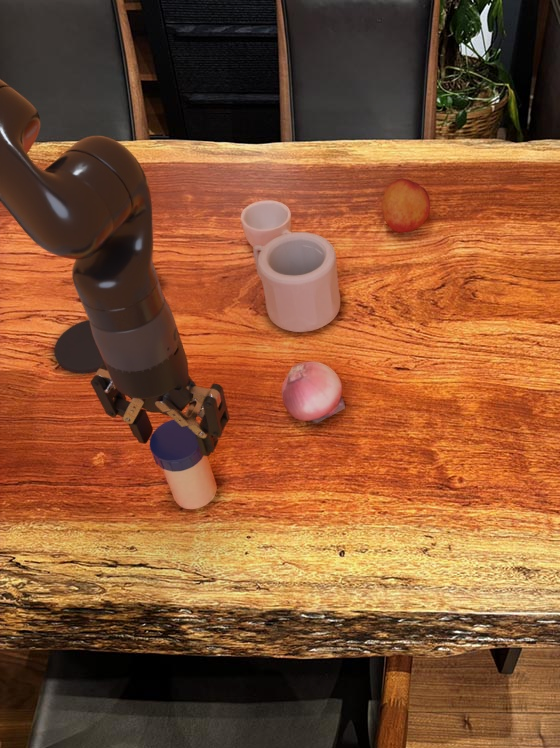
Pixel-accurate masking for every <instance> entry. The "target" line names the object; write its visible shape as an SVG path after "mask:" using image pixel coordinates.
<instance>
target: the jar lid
mask: <svg viewBox="0 0 560 748" xmlns="http://www.w3.org/2000/svg"><path fill="white" fill-rule="evenodd" d="M149 450H150V452H151V455H152V457H153V459H154V461H155V464H156V465H157V466H159V467H160V468H161V469H162V468H163V469H165V470H168V471H172V472H173V471H174V472H176V471H184V470H187V469H189V468H191V467H193V466H195V465H196V464H197V463H198V462H199V461H200V460H201V459H202V458H203V455H202V454H201V451H200V448H199V446H198V443H197V440H196V434H195V433H194V432H193V431H192V430H191V429H189V428H188V427H187V426H186V427H181V426H180V425H179V424H178V423H177V422H176V421H175V420H174V419H170V420H168V421H165V422H163V423H161V424H160V425H159V426H158V427H156V429H155V430H153V432H152V434H151V436H150V438H149Z"/></svg>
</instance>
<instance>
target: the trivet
mask: <svg viewBox="0 0 560 748" xmlns="http://www.w3.org/2000/svg"><path fill="white" fill-rule="evenodd" d="M53 351H54V352H53V353H54V357H55V359H56V361H57V363H58V365H59V366H60V367H61V368H62V369H63V370H66V371H67V372H70V373H73V374H79V375H82V374H92V373H93V374H94V373H96V372H97V371H98V369H99V368H100V366H101V365H102V364H104V361H103V358H102V356H101V354H100V351H99V349H98V347H97V344H96V342H95V340H94V337H93V334H92V330H91V325H90V322H89V319H86V320H84V321H80V322H78V323H76V324H74V325H73V326H71V327H68V328H67V329H66V330H65V331H64V332H63V333H62V334H61V335H60V336H59V338H58V339H57V340H56V343H55V346H54V350H53Z"/></svg>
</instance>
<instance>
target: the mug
mask: <svg viewBox="0 0 560 748" xmlns="http://www.w3.org/2000/svg"><path fill="white" fill-rule="evenodd" d="M252 253H253V258H254V264H255V268H256V269H255V270H256V273H257V276H258V278H259V279H260V281H261V284H262V288H263V289H262V290H263V294H264V300H265V309H266V312H267V316H268V318H269V319H270V321H271V322H272V323H273V324H274V325H276V326H277V327H279V328H281V329H283V330H285V331H290V332H294V333H295V332H296V333H306V332H312V331H316V330H318V329H322V328H323V327H324V326H326V325H329V323H331V322H332V321H333V320H334V319H335V318H336V317H337V316H338V314H339V311H340V308H341V293H340V288H339V287H340V286H339V275H338V261H337V253H336V250H335V248H334V246H333V244H332V243H331V242H329V240H328V239H326V238H325V237H324V236H321V235H320V234H316V233H312V232H307V231H295V232H294V231H293V232H292V233H287V234H284V235H281V236H278V237H276V238H274V239H272V240H271V241H269V242H268V243H267V244H266V245H265V246H260V245H256V246H254V247H253V246H252Z"/></svg>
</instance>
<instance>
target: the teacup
mask: <svg viewBox="0 0 560 748" xmlns="http://www.w3.org/2000/svg"><path fill="white" fill-rule="evenodd" d="M240 222H241V223H240V224H241V227H242V230H243V233H244V237H245V239H246V241H247V243H248V244H249V245H250V246H251V247H252V248H253V247H254V246H256V245H260V246H265V245H266V244H267V243H268V242H269V241H271V240H272V239H274V238H276V237H278V236H281V235H284V234H287V233H293V232H292V212H291V210H290V208H289V207H288V206H287V205H286V204H285V203H283V202H280V201H277V200H272V199H270V200H269V199H265V200H259V201H255V202H253V203H251V204H249V205H247V206H246V207H245V208H243V210H242V212H241V214H240Z"/></svg>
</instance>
